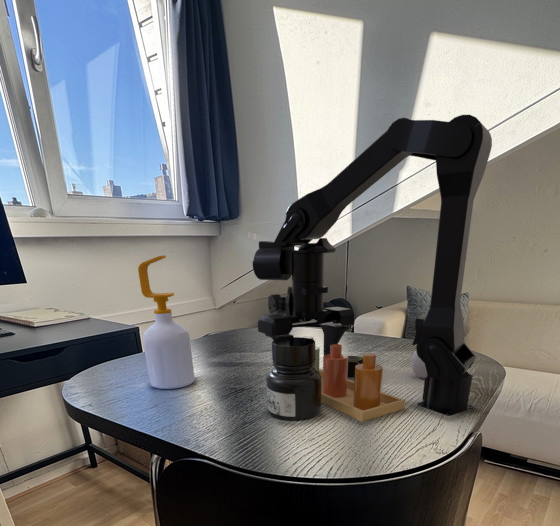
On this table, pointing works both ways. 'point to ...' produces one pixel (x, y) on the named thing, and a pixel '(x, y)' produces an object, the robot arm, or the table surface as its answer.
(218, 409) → the table surface
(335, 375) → the terracotta bottle
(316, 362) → the sage bottle
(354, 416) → the tray
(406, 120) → the robot arm
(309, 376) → the ink bottle
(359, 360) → the tape measure
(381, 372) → the amber bottle
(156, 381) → the soap bottle
